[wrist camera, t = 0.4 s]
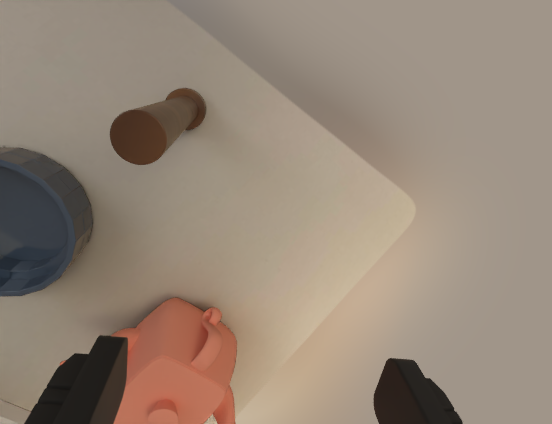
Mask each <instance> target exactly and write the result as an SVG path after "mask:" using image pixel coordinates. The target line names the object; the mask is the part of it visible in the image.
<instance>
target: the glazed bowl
mask: <svg viewBox="0 0 552 424" xmlns="http://www.w3.org/2000/svg"><path fill="white" fill-rule="evenodd" d="M92 225H93V220H92V212H91V205H90V203H89V201H88V199H87V196H86V194H85V192H84V190H83V188H82V186H81V185H80V184H79V183H78V181H77V180H76V179H75V178H74V177H73V176H72V175H71V174H70V173H69V172H68V171H67V170H66V169H65V168H64V167H63V166H61V165H59V164H58V163H56V162H55V161H53V160H51V159H50V158H48V157H47V156H45V155H42V154H39V153H36V152H32V151H29V150H26V149H23V148H7V147H0V296H22V295H26V294H29V293H32V292H36V291H39V290H42V289H44V288H45V287H47V286H48V285H50V284H51V283H53V282H54V281H56V280H57V279H59V278H60V277H61V276H62V275H63V273H64V272H65V271H66V270H67V269H68V268H69V266H70V265H71V264H72V263H73V262H74V261H75V259H76V258H77V257H78V256H79V255H80V253H81V252H82V250H83V249H84V247H85V246H86V245H87V243H88V241H89V238H90V234H91V230H92Z"/></svg>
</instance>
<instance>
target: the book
mask: <svg viewBox="0 0 552 424" xmlns="http://www.w3.org/2000/svg"><path fill="white" fill-rule="evenodd" d="M30 413H31V412H30V411H28V410H25V409H23V408H20V407H18V406H15V405H13V404H10V403H8V402H5V401H3V400H0V424H24V423H25V421H26V420H27V418H28V416H29V415H30Z"/></svg>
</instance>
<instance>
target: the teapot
mask: <svg viewBox="0 0 552 424" xmlns="http://www.w3.org/2000/svg"><path fill="white" fill-rule="evenodd" d="M221 317H222V313H221V311H220V310H219V309H218V308H215V307H211V308H209V309H208V310H206V311H205V312H204V311H202V310H200V309H199V308H197V307H195V306H193V305H191V304H190V303H188V302H186V301H184V300H182V299H179V298H171V299H169V300H167V301H165V302H164V303H162V304H161V305H159V306H158V307H157V308H156V309H155V310H154V311H152V312H151V313H150V314H149V315H148V316H147V317H146V318H145V319H144V320H143V321H142V322H141V323H140V324H138V326H137V327H136V328H127V329H122V330H120V331H117V332H115V333H114V334H112V335H111V336H116V337H127V338H128V356H127V378H126V385H125V390H124V394H123V398H122V401H121V404H120V407H119V410H118V412H117V415H116V418H115V421H114V424H204V423H205V421H206V420H207V419H208V418H209V417H210V416H211V415H212V413H213V415H214V417H215V419H216V421H217V423H218V424H235V411H234V397H233V393H232V390H231V387H230V385H229V384H230V381H231V377H232V374H233V370H234V366H235V361H236V353H237V342H236V338H235V336H234V335H233V333H232V332H231V331H230V329H229V328H227V327H226V326H225V325H224V324H222V323H221V322H219V321H220V319H221ZM65 361H66V360H65ZM65 361H62V362H61V363H60V365H62V364H63V363H64V362H65Z"/></svg>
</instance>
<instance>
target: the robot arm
mask: <svg viewBox="0 0 552 424" xmlns="http://www.w3.org/2000/svg"><path fill="white" fill-rule="evenodd" d="M127 356H128V338H127V337H116V336H103V335H100V336H99V337H98V338H97V340H96V342H95V344H94V346H93V348H92V349H91V351H90V353H89V354H76V353H75V354H74V355H72V356H71V357H70V358H69V359H68V360H66V361H65V362H64V363H63V364H62V365H60V366H59V367H58V368H57V370H56V372H55V373H54V375H53V377H52V378H51V380H50V382H49V383H48V385H47V388H46V389H45V390H44V392H43V393H42V395H41V396H40V398H39V400H38V403H37V404H36V405H35V406H34V408H33V410H32V411H31V413H30V415H29V416H28V418H27V420H26V421H25V423H24V424H114V421H115V418H116V415H117V412H118V410H119V407H120V404H121V401H122V398H123V394H124V390H125V385H126V378H127ZM374 410H375V414H376V417H377V419H378V422H379V424H462V420H461V419H460V417H459V415H458V414H457V412H455V411H454V407H453V406H452V404H451V402H450V401H449V399H448V398H447V396H446V395H445V393H444V392H443V391H442V390H441V389H440V388H439V387H438V386H437V385H436V384H435V383H434V382H433V381H432V380H431V379H430V378H429V379H428V378H425V377H424V375H423V373H422V372H421V370H420V368H419V367H418V365H417V363H416V362H415V361H413V360H407V359H394V358H393V359H392V358H390V359H388V360H387V361H386V364H385V366H384V369H383V372H382V374H381V377H380V380H379V383H378V385H377V388H376V390H375V393H374Z"/></svg>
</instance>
